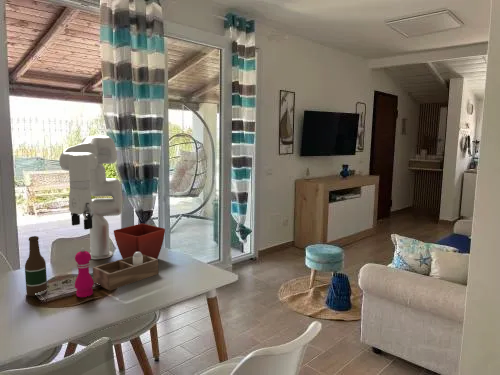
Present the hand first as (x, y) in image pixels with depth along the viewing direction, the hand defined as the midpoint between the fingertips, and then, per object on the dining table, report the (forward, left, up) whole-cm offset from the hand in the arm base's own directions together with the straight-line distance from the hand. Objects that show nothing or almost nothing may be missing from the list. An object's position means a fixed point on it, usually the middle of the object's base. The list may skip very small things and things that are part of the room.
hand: (82, 226), depth 151 cm
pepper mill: (0, 0, -29) cm, 29 cm away
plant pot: (-18, +40, -29) cm, 52 cm away
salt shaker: (0, +26, -28) cm, 38 cm away
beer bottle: (-16, -12, -29) cm, 35 cm away
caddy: (0, +20, -29) cm, 35 cm away
